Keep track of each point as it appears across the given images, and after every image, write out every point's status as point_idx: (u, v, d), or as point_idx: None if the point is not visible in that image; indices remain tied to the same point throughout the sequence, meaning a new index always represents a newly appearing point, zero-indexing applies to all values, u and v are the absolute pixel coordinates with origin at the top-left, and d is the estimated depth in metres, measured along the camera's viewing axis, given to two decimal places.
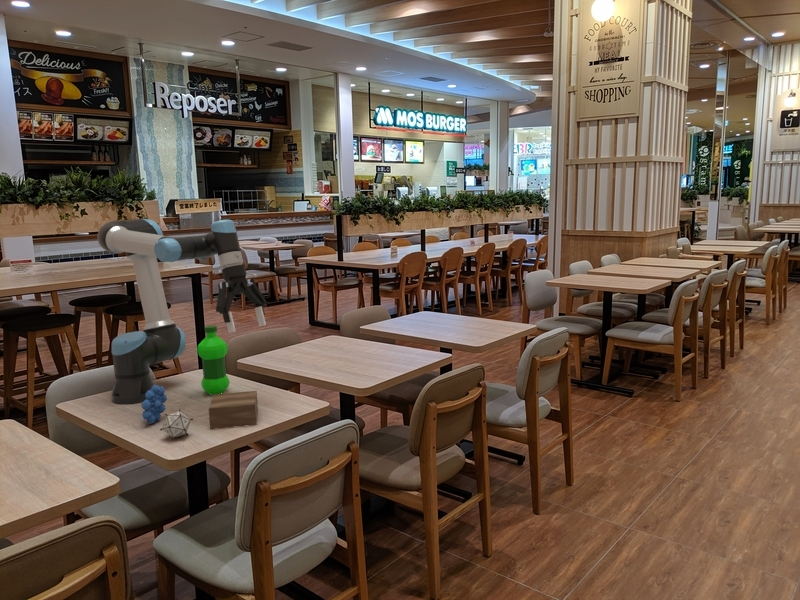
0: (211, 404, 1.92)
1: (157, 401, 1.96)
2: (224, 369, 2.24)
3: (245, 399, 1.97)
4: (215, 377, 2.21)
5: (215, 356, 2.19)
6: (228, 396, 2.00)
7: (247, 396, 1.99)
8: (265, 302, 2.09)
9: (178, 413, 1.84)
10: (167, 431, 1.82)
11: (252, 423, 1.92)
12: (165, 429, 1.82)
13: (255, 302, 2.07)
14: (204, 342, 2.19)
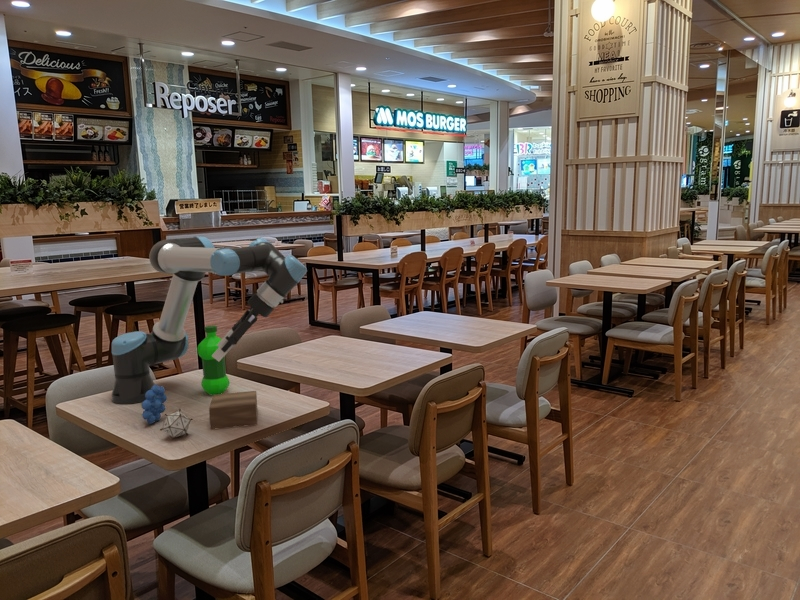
0: (211, 404, 1.92)
1: (157, 401, 1.96)
2: (224, 369, 2.24)
3: (245, 399, 1.97)
4: (215, 377, 2.21)
5: None
6: (228, 396, 2.00)
7: (247, 396, 1.99)
8: None
9: (178, 413, 1.84)
10: (167, 431, 1.82)
11: (253, 423, 1.92)
12: (165, 429, 1.82)
13: None
14: (204, 342, 2.19)
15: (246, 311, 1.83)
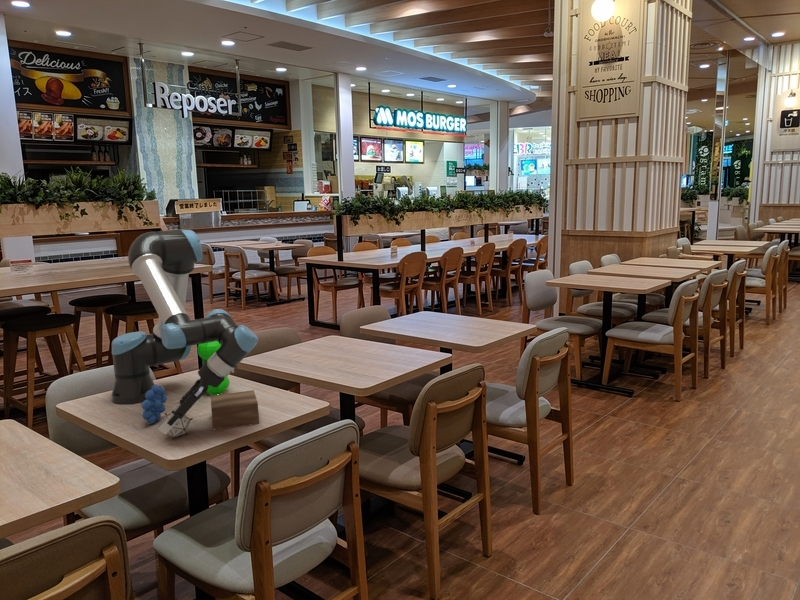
0: (212, 405, 1.92)
1: (157, 401, 1.96)
2: None
3: (245, 398, 1.97)
4: None
5: None
6: (227, 396, 2.00)
7: (247, 395, 2.00)
8: None
9: None
10: None
11: (255, 422, 1.93)
12: None
13: None
14: None
15: (197, 380, 1.83)
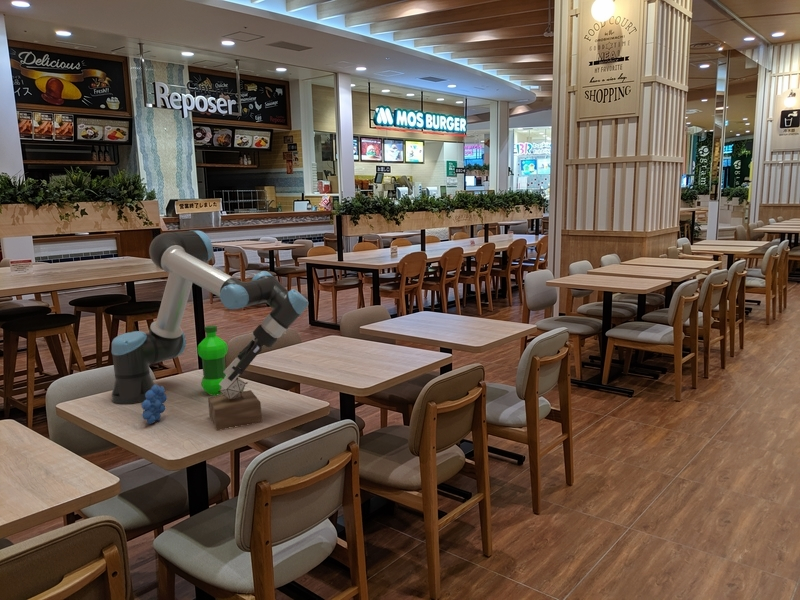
0: (214, 406, 1.91)
1: (157, 401, 1.96)
2: (224, 369, 2.24)
3: (245, 398, 1.97)
4: (215, 377, 2.21)
5: (215, 356, 2.19)
6: (226, 397, 1.99)
7: (246, 395, 2.00)
8: None
9: None
10: (224, 393, 1.94)
11: (258, 421, 1.94)
12: (222, 391, 1.94)
13: (243, 356, 2.01)
14: (204, 342, 2.19)
15: (251, 341, 1.96)
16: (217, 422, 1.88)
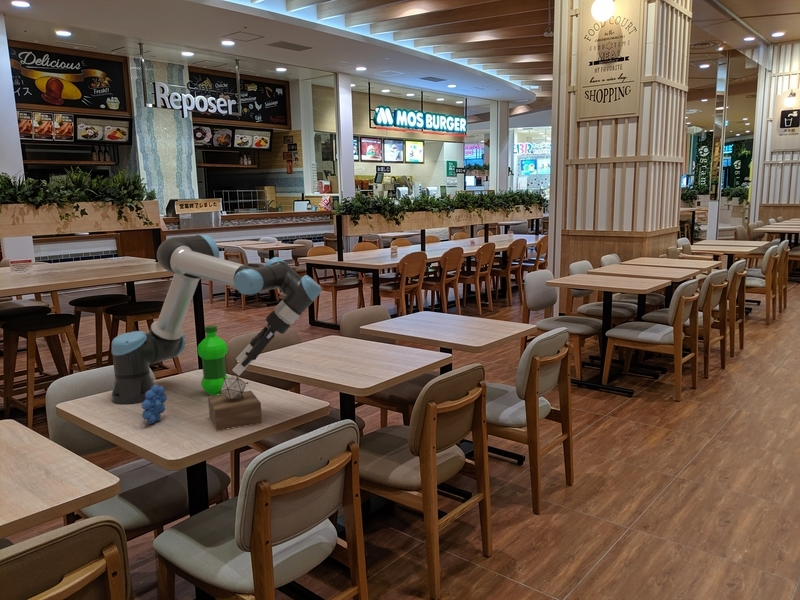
0: (214, 406, 1.91)
1: (157, 401, 1.96)
2: (224, 369, 2.24)
3: (245, 399, 1.97)
4: (215, 377, 2.21)
5: (215, 356, 2.19)
6: (226, 397, 1.99)
7: (246, 396, 2.00)
8: None
9: (235, 377, 1.96)
10: (225, 393, 1.94)
11: (258, 421, 1.94)
12: (223, 391, 1.94)
13: (255, 343, 2.01)
14: (204, 342, 2.19)
15: (264, 328, 1.95)
16: (217, 422, 1.88)
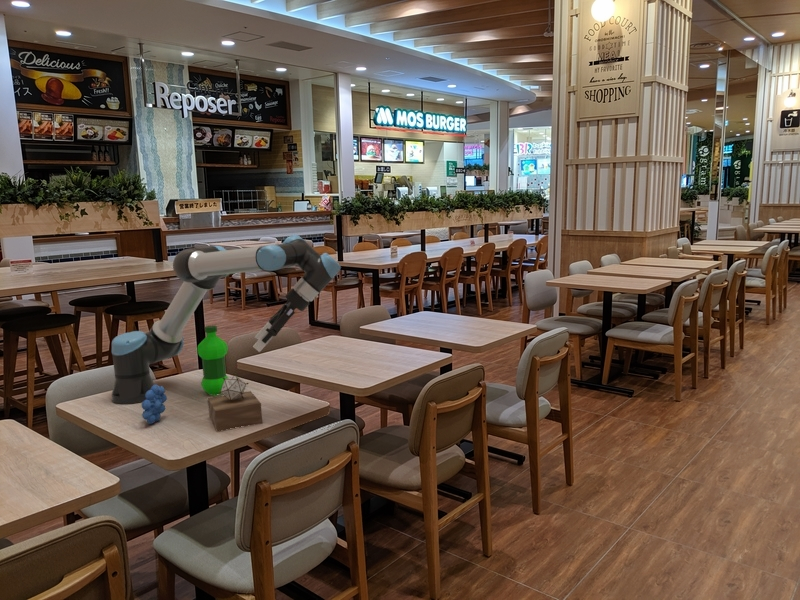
0: (214, 407, 1.90)
1: (157, 401, 1.96)
2: (224, 369, 2.24)
3: (245, 399, 1.97)
4: (215, 377, 2.21)
5: (215, 356, 2.19)
6: (226, 398, 1.98)
7: (246, 396, 1.99)
8: None
9: (235, 377, 1.96)
10: (225, 394, 1.94)
11: (258, 422, 1.93)
12: (223, 392, 1.94)
13: (274, 321, 2.01)
14: (204, 342, 2.19)
15: (283, 305, 1.96)
16: (217, 423, 1.88)
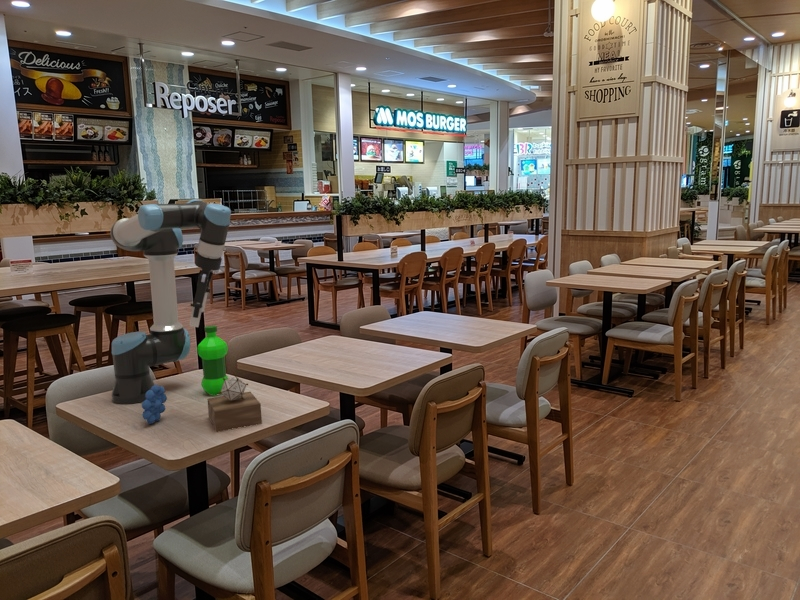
0: (214, 407, 1.90)
1: (157, 401, 1.96)
2: (224, 369, 2.24)
3: (245, 400, 1.96)
4: (215, 377, 2.21)
5: (215, 356, 2.19)
6: (225, 398, 1.98)
7: (246, 397, 1.99)
8: (208, 287, 2.00)
9: (235, 378, 1.95)
10: (225, 394, 1.93)
11: (258, 422, 1.93)
12: (223, 393, 1.93)
13: None
14: (204, 342, 2.19)
15: (199, 272, 1.89)
16: (217, 424, 1.87)
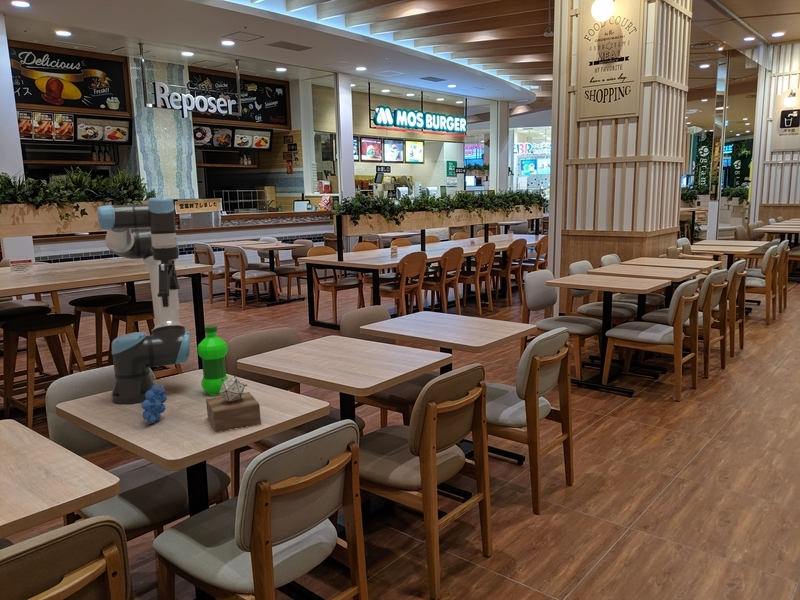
0: (213, 408, 1.89)
1: (157, 401, 1.96)
2: (224, 369, 2.24)
3: (244, 400, 1.96)
4: (215, 377, 2.21)
5: (215, 356, 2.19)
6: (224, 399, 1.97)
7: (244, 397, 1.98)
8: None
9: (233, 379, 1.94)
10: (223, 395, 1.92)
11: (257, 423, 1.92)
12: (222, 393, 1.92)
13: (172, 284, 2.01)
14: (204, 342, 2.19)
15: None
16: (216, 424, 1.87)
